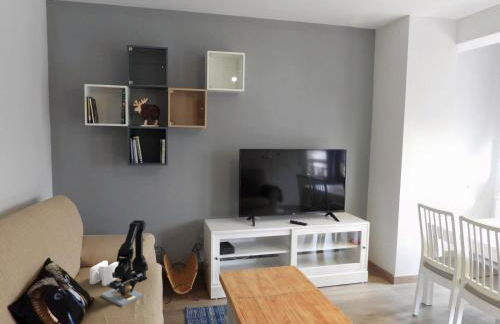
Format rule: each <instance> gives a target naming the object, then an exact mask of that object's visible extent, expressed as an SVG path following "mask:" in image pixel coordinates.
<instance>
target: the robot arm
mask: <svg viewBox="0 0 500 324" xmlns="http://www.w3.org/2000/svg"><path fill="white" fill-rule="evenodd" d="M146 226H147V222H146V221H145V220H144V219H138V220H137V219H134V220H133V221H131V222H130V223H129V229H128V231H127V235H126V237H125V241H124V242H123V243H122V244H121V245H120V246H119V249H118V251H117V256H116V261H115V262H118V266H117V267H116V268H115V270H114V272H113V273H112V277H113V278H117V279H118V280H119V281H118V280H117V279H116V280H115V281H112V282H110V284H108V287H109V288H111V289H115V290H117V289H119V290H120V291H119V293H120V295H121V297H124V291H125V286H123V285H124V284H126V283H127V282H128V283H129V284H130V285H132V289H131V290H130V293H132V291H133V290H135V289H134V288H135V286H136V285H137V283H141V282H143V281H145V280H147V279H148V277H147V271H148V270H149V265H148V263H147V260H146V257H145V256H144V244H143V243H144V237H143V233H144V232H145V230H146ZM134 245H135V246H134ZM133 246H134V247H133ZM134 249H135V250H134ZM134 254H135V256H134ZM133 258H134V259H133Z"/></svg>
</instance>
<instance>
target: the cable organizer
mask: <svg viewBox="0 0 500 324" xmlns="http://www.w3.org/2000/svg"><path fill="white" fill-rule="evenodd" d="M118 263H119V261H114V262H112V263H111V264H109V261H108V260H102V261H100V262H99V263H97V264H95V265H93V266H91V267H90V269H89V284H90V285H97V284H98V283H100V281H101V285H102V286H103V287H104V286H105V287H107V286H109V284H110V282H112V281H115V280H117V279H118V278H113V277H112V273H113V272H114V270H115V268H116V267H117V266H118Z"/></svg>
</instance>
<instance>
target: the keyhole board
mask: <svg viewBox="0 0 500 324" xmlns="http://www.w3.org/2000/svg"><path fill="white" fill-rule="evenodd" d="M117 291H118V292H120V290H119V289H117V290H115V289H112V288H111V289H109V290H107V291H105V292H103V293H100V296H101V297H102V298H104V299H106V300H108V301H110V302H112V303H114V304H116V305H118V306H120V307H125V306H128V305H129V304H131V303H133V302H135V301H137V300H139V299H142V298H143V297H144V294H143V293H141V292H139V291H136V290H135V289H133V291H132V293H130V298H128V299H125V298H124V296H122V295H121V296H120V295H118V294H116V293H118V292H117ZM115 292H116V293H115ZM113 293H114V294H113Z"/></svg>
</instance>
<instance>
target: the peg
mask: <svg viewBox="0 0 500 324" xmlns="http://www.w3.org/2000/svg"><path fill="white" fill-rule="evenodd" d="M123 286H125V291H124V296H123V298H125V299H128V298H130V290H131V289H132V285H130V283H129V284H128V283H124V284H123Z"/></svg>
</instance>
